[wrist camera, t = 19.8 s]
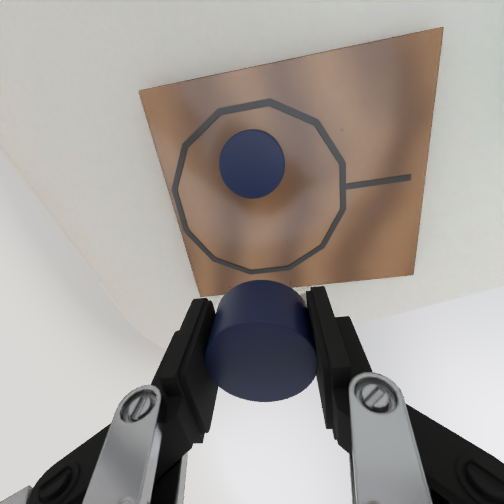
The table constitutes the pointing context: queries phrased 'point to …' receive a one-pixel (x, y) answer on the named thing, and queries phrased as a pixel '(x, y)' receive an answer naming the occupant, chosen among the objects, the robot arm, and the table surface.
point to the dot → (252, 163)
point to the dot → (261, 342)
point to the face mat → (304, 164)
